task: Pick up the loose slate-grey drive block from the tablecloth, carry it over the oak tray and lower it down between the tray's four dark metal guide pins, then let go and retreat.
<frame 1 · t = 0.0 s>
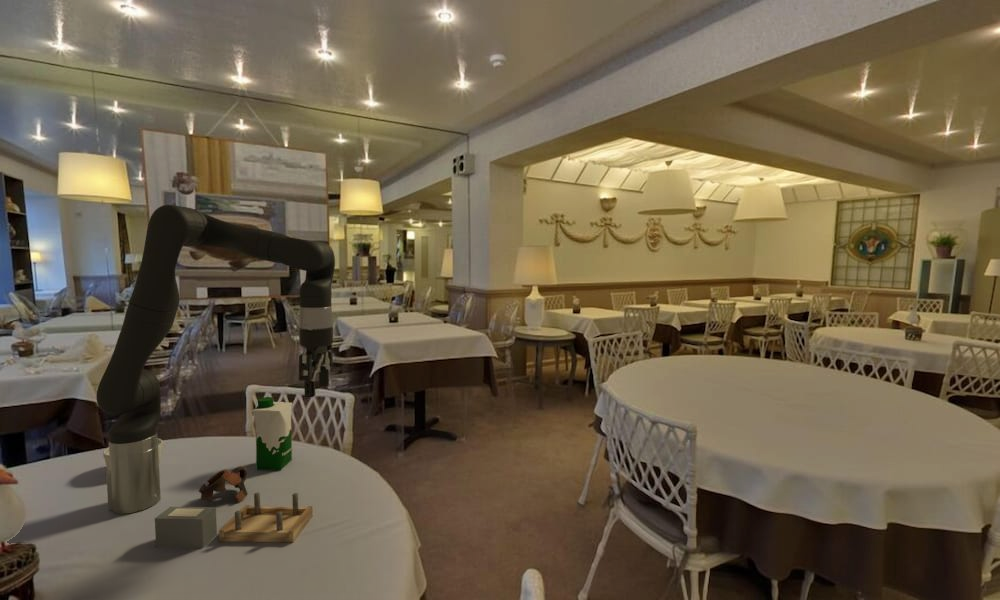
hand: (317, 391, 108), 29 cm above the table, fingers open, 8 cm apart
milk carton: (274, 465, 133), on the table
drive block: (187, 541, 97), on the table
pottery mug: (228, 498, 115), on the table
pin tray: (268, 527, 102), on the table
ramekin: (135, 470, 129), on the table
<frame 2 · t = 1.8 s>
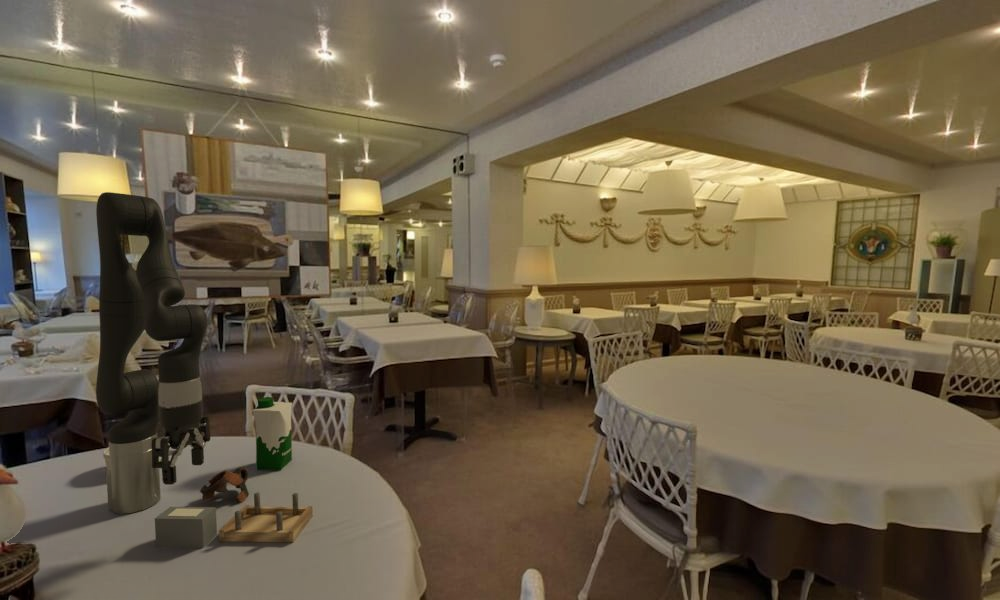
hand: (184, 473, 96), 15 cm above the table, fingers open, 8 cm apart
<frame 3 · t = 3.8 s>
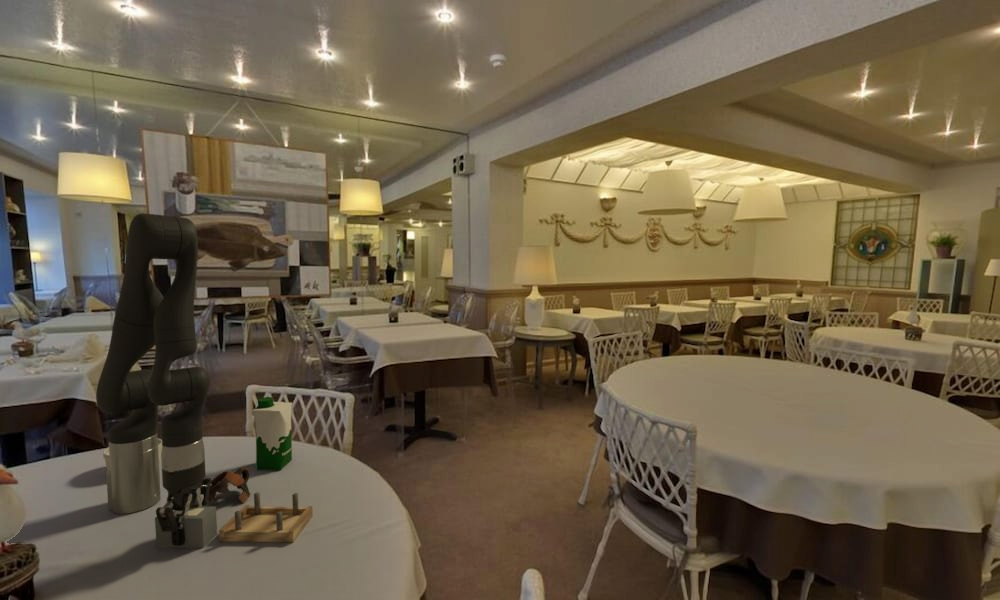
hand: (187, 536, 97), 1 cm above the table, fingers closed on drive block, 4 cm apart
drive block: (187, 540, 97), on the table, touching gripper
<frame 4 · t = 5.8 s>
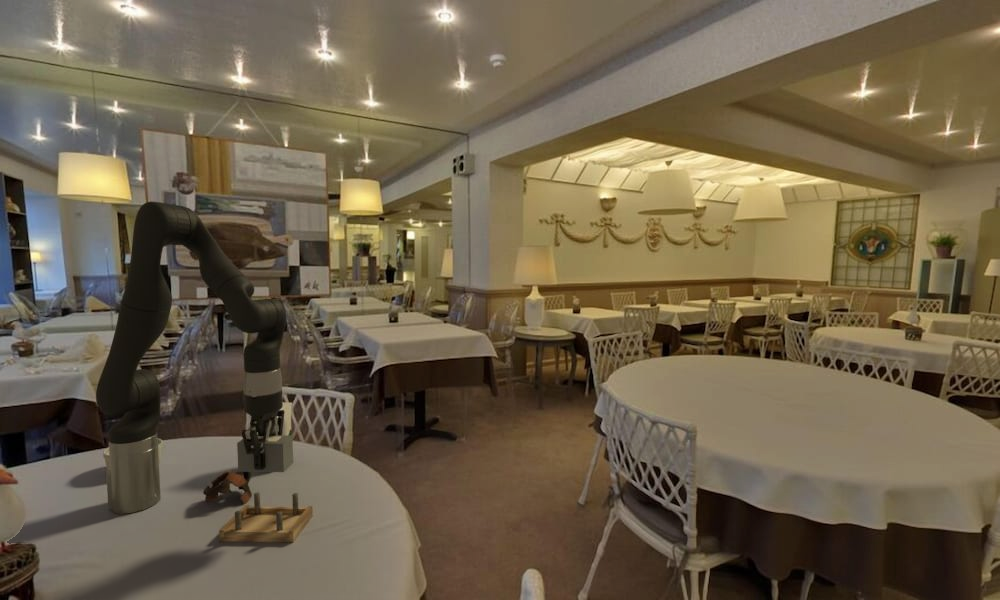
hand: (266, 463, 100), 15 cm above the table, fingers closed on drive block, 4 cm apart
drive block: (266, 467, 100), point 15 cm above the table, touching gripper
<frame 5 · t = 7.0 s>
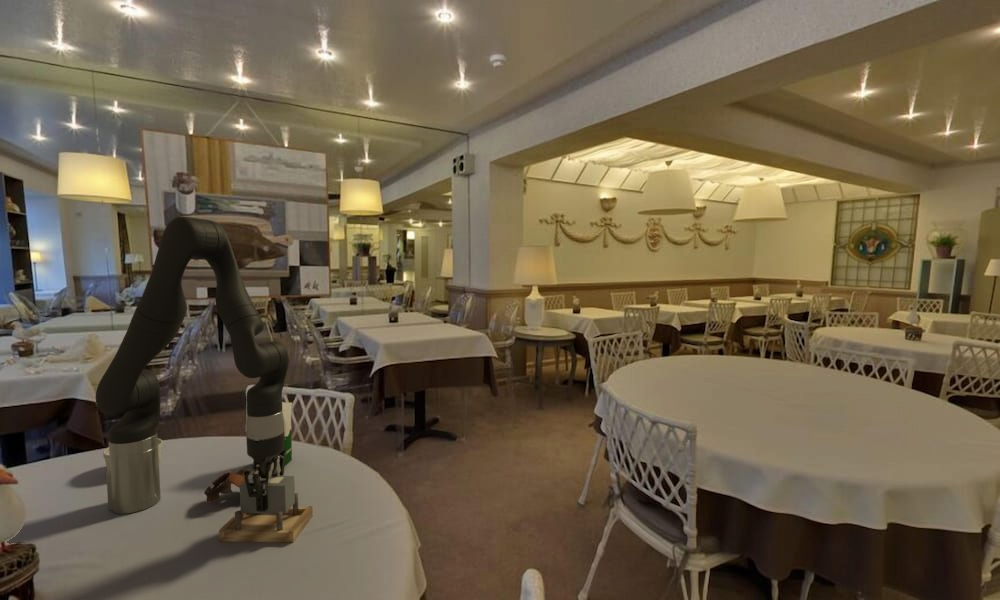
hand: (268, 504, 101), 6 cm above the table, fingers closed on drive block, 4 cm apart
drive block: (268, 507, 102), point 5 cm above the table, touching gripper
when the fingers open (4 cm above the table, at t = 7.8 s): drive block drops 2 cm, resting on pin tray.
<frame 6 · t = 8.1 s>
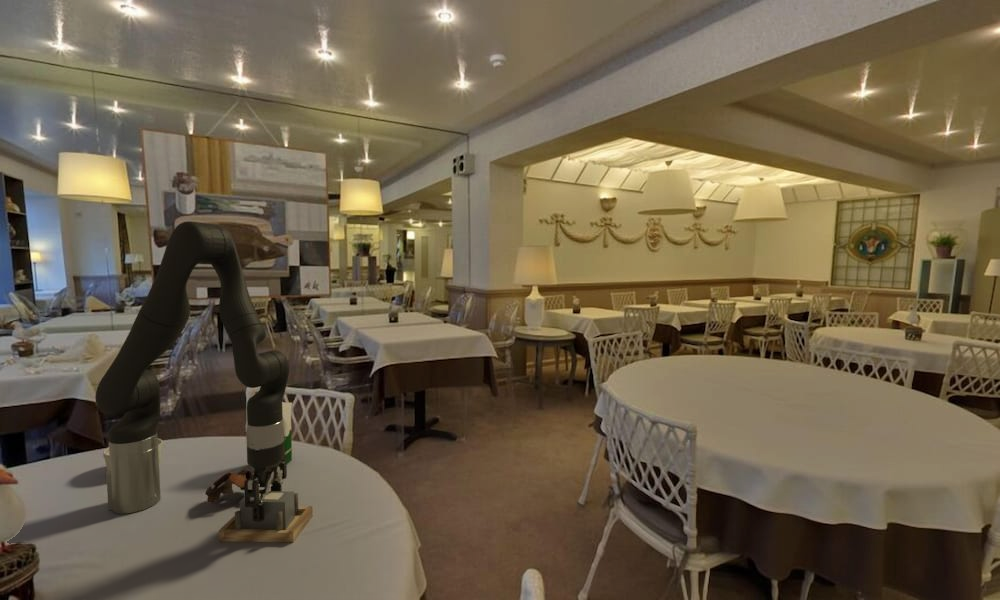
hand: (267, 510, 102), 4 cm above the table, fingers open, 7 cm apart
drive block: (268, 523, 102), point 1 cm above the table, touching pin tray
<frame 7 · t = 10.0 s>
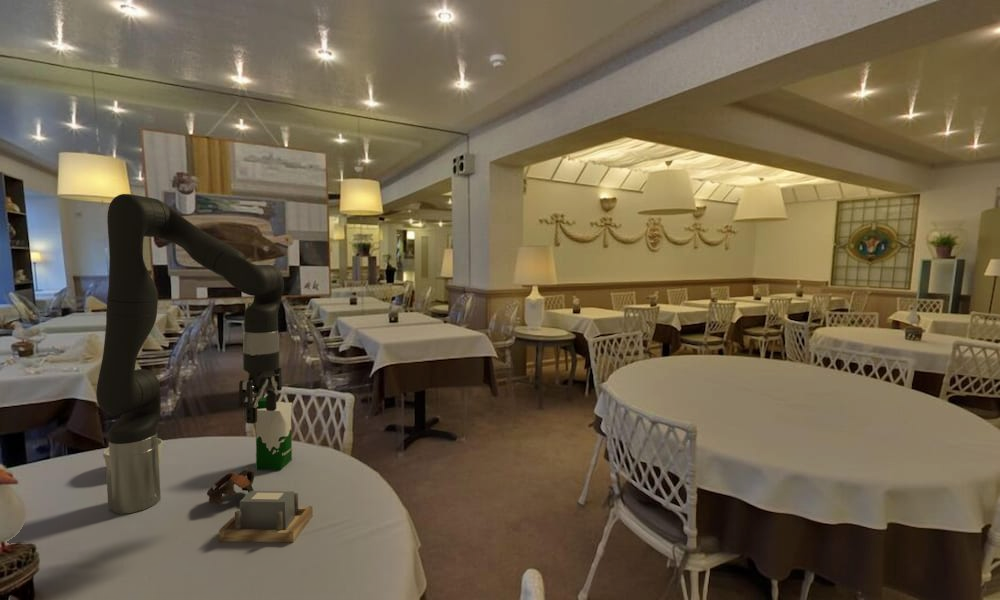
hand: (261, 416, 107), 24 cm above the table, fingers open, 8 cm apart
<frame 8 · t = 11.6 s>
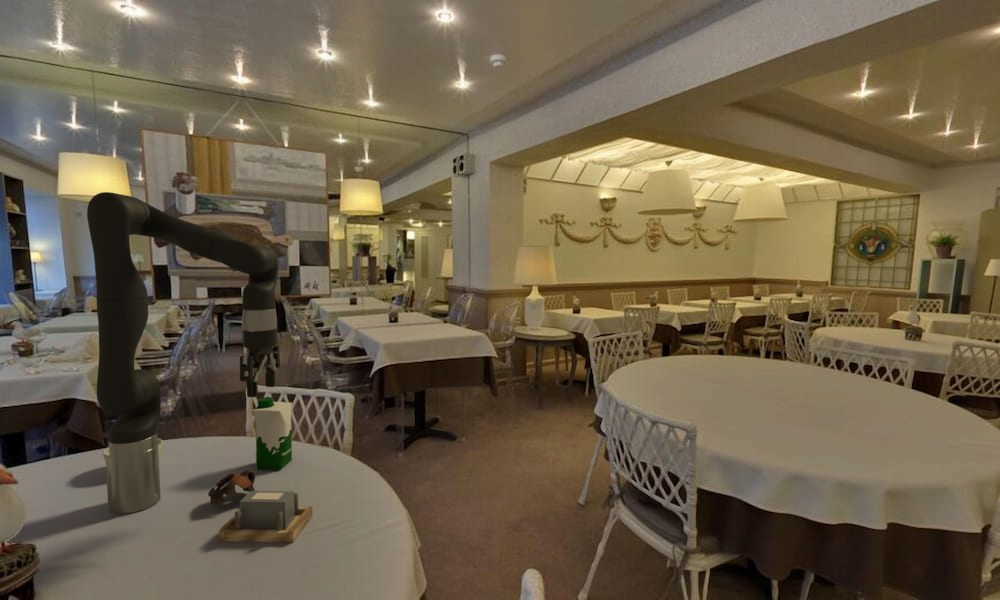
hand: (261, 391, 111), 28 cm above the table, fingers open, 8 cm apart
at the end: drive block 0.1 cm off-centre on the pin tray, point 1.0 cm above the pin tray's base; drive block tilted 0°; the gripper is holding nothing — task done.
